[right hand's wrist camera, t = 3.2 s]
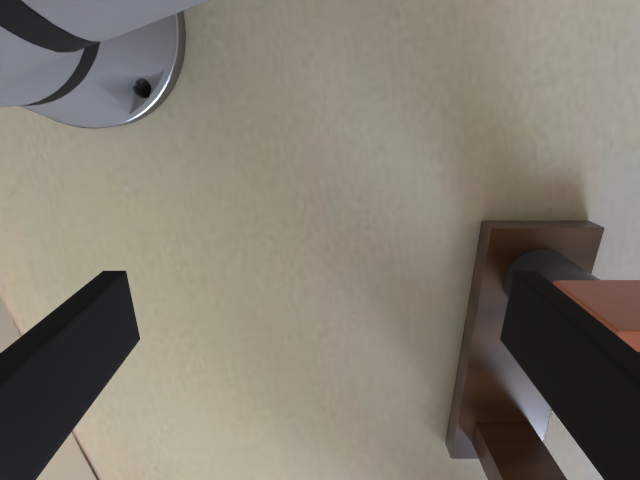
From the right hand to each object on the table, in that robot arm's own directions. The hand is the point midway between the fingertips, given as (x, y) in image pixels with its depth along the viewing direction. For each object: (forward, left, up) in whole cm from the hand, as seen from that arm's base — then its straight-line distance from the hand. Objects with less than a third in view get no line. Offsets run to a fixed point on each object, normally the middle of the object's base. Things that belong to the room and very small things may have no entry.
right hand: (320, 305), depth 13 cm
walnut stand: (+18, +20, -22) cm, 35 cm away
